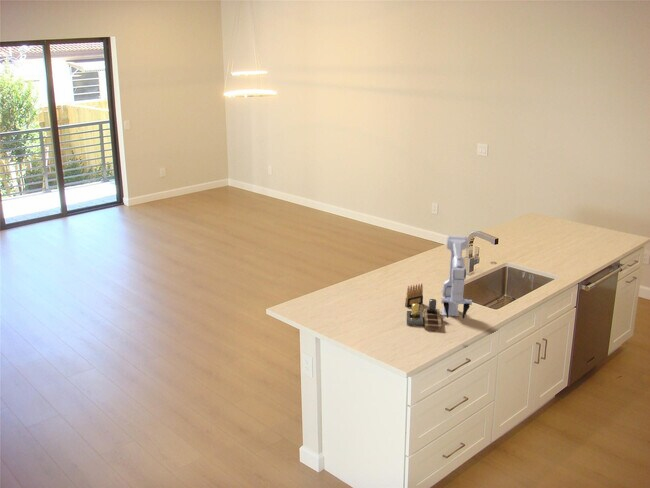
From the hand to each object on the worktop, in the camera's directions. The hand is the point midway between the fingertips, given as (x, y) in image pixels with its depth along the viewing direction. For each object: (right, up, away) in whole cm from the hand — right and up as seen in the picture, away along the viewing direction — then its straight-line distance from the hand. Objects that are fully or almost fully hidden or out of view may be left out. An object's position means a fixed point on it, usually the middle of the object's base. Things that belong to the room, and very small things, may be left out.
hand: (455, 317), depth 347 cm
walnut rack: (-8, -4, +19) cm, 21 cm away
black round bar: (-8, -2, +25) cm, 26 cm away
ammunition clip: (-15, +2, +39) cm, 42 cm away
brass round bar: (-17, -4, +20) cm, 27 cm away
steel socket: (-17, -4, +20) cm, 27 cm away
